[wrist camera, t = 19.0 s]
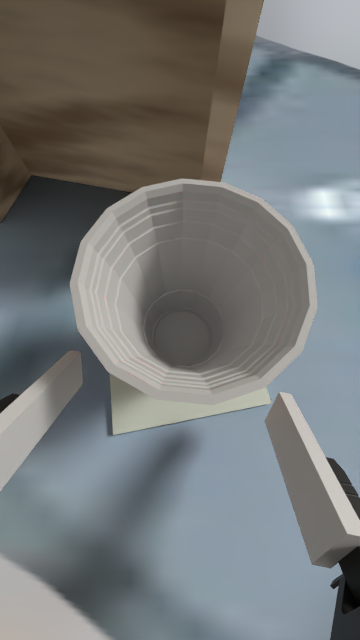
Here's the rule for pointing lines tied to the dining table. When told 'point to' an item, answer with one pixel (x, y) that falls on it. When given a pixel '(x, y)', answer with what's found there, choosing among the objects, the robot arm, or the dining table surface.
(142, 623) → the dining table surface
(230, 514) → the dining table surface
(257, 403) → the mat
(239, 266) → the plastic cup
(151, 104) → the oak cabinet
